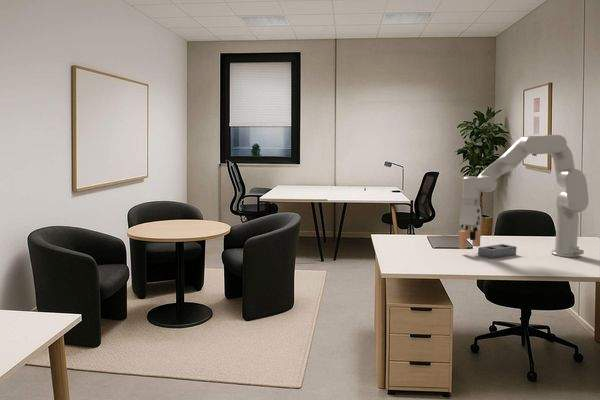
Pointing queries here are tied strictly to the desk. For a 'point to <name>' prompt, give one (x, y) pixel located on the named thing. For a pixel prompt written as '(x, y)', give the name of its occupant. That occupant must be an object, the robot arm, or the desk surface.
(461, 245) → the tan block
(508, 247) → the dark gray slotted block
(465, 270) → the desk surface
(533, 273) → the desk surface
